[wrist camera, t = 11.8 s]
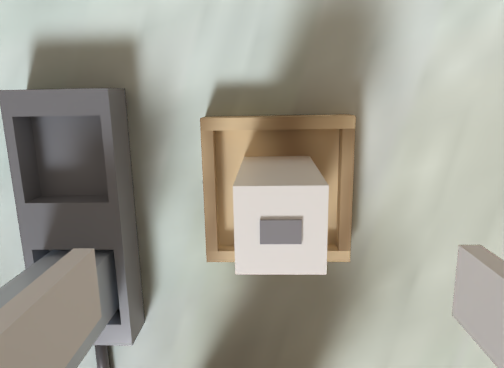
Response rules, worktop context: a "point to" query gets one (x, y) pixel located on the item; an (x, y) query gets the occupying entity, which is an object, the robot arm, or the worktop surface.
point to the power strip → (77, 187)
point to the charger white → (280, 217)
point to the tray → (276, 144)
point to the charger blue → (105, 285)
